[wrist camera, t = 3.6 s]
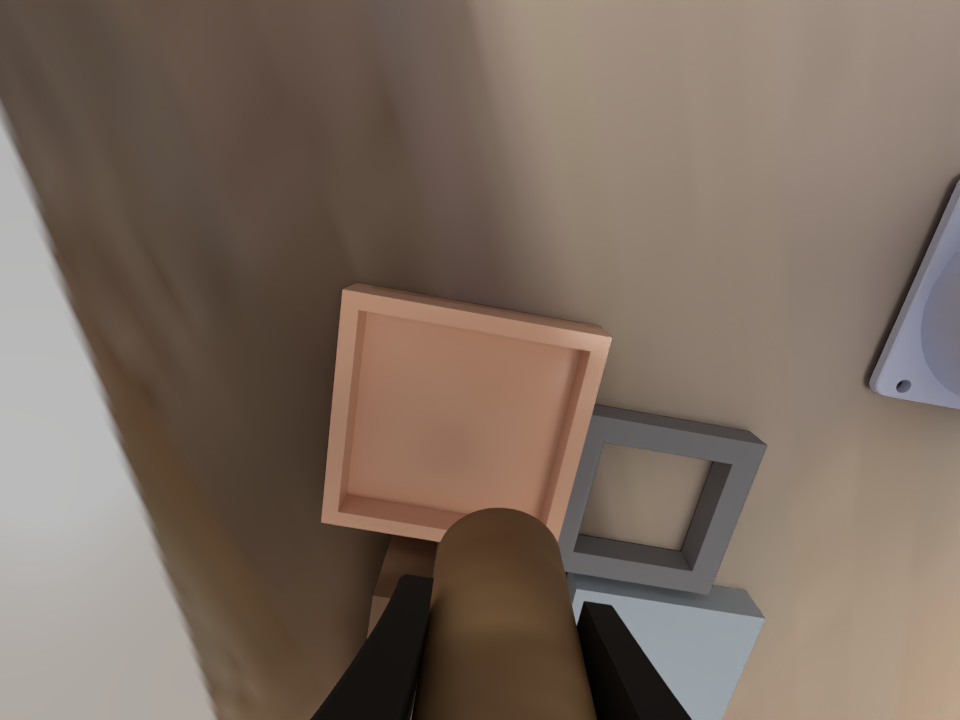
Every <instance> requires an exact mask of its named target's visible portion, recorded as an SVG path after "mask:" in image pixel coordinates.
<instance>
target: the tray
mask: <svg viewBox="0 0 960 720" xmlns="http://www.w3.org/2000/svg"><path fill="white" fill-rule="evenodd" d="M611 341H612V337H611V336H610V335H609V334H608V333H607V332H606V331H605V330H604V329H603V328H602V327H601V326H596V325H591V324H585V323H579V322H574V321H568V320H563V319H557V318H552V317H546V316H541V315H535V314H529V313H524V312H518V311H513V310H507V309H502V308H496V307H491V306H485V305H479V304H474V303H468V302H463V301H457V300H452V299H446V298H440V297H435V296H429V295H424V294H418V293H413V292H407V291H402V290H396V289H390V288H385V287H379V286H374V285H368V284H363V283H355V284H353V285H351V286H349V287H346V288H344V289H342V300H341V311H340V322H339V333H338V344H337V355H336V366H335V377H334V388H333V398H332V409H331V420H330V431H329V442H328V453H327V464H326V475H325V486H324V497H323V508H322V518H321V523H327V524H333V525H339V526H345V527H352V528H358V529H364V530H370V531H376V532H382V533H388V534H394V535H400V536H406V537H412V538H418V539H425V540H431V541H437V542H440V541H441V539H442V537H443V536H444V534H445V533H446V531H447V530H448V529H449V528H450V527H451V526H452V525H453V524H454V523H455V522H456V521H458V520H459V519H461V518H462V517H464V516H466V515H468V514H470V513H472V512H475V511H478V510H482V509H487V508H510V509H515V510H519V511H522V512H525V513H527V514H530V515H532V516H533V517H535V518H537V519H538V520H540V521H541V522H542V523H544V524H545V525H546V526H547V527H548V528H549V530H550V531H551V532H552V533H553V535H554V537H555V538H556V540H557V543H558V540H559V536H560V532H561V528H562V525H563V521H564V517H565V513H566V510H567V506H568V502H569V498H570V495H571V491H572V487H573V483H574V480H575V476H576V472H577V468H578V465H579V461H580V457H581V453H582V450H583V446H584V442H585V439H586V435H587V431H588V427H589V424H590V420H591V416H592V412H593V409H594V405H595V401H596V397H597V394H598V390H599V386H600V382H601V379H602V375H603V371H604V367H605V364H606V360H607V356H608V352H609V349H610V345H611Z"/></svg>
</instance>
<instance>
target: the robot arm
mask: <svg viewBox="0 0 960 720" xmlns="http://www.w3.org/2000/svg"><path fill="white" fill-rule="evenodd" d="M900 381H902V384H901V385H900V387H898V388H896V386H897V384H898V383H899V382H900ZM869 385H870V388H871V389H872V391H874V392H876V393H878V394H880V395H883V396H887V397H893V398H898V399H904V400H909V401H915V402H921V403H926V404H932V405H937V406H943V407H949V408H954V409H960V180H959V181H958V183H957V185H956V187H955V189H954V191H953V194H952V196H951V198H950V200H949V203H948V205H947V207H946V209H945V212H944V214H943V216H942V218H941V221H940V223H939V225H938V227H937V230H936V232H935V234H934V236H933V239H932V241H931V243H930V245H929V248H928V250H927V252H926V254H925V257H924V259H923V261H922V264H921V266H920V268H919V270H918V273H917V275H916V277H915V279H914V282H913V284H912V286H911V288H910V291H909V293H908V295H907V297H906V300H905V302H904V304H903V306H902V309H901V311H900V313H899V315H898V318H897V320H896V322H895V324H894V327H893V329H892V331H891V333H890V336H889V338H888V340H887V342H886V345H885V347H884V349H883V351H882V354H881V356H880V358H879V360H878V363H877V365H876V367H875V369H874V372H873V374H872V376H871V378H870V382H869ZM433 582H434V578H429V577H422V576H415V575H409V574H405V575H403V576H402V577H400V578H399V580H398V583H397V586H396V588H395V590H394V592H393V594H392V597H391V599H390V601H389V603H388V604H387V606H386V608H385V610H384V612H383V614H382V615H381V617H380V619H379V621H378V622H377V624H376V626H375V627H374V629H373V631H372V632H371V634H370V635H369V637H368V639H367V640H366V642H365V643H364V645H363V646H362V648H361V649H360V651H359V653H358V654H357V656H356V657H355V659H354V660H353V662H352V663H351V665H350V666H349V668H348V669H347V670H346V672H345V673H344V675H343V676H342V677H341V679H340V680H339V682H338V683H337V684H336V686H335V687H334V688H333V690H332V691H331V693H330V694H329V695H328V697H327V698H326V700H325V701H324V702H323V704H322V705H321V706H320V708H319V709H318V710H317V712H316V713H315V714H314V715H313V717H312V718H311V719H310V720H410V717H411V713H412V709H413V703H414V697H415V691H416V685H417V680H418V674H419V668H420V662H421V656H422V650H423V644H424V638H425V633H426V627H427V621H428V615H429V609H430V603H431V596H432V589H433ZM577 630H578V634H579V639H580V643H581V648H582V652H583V657H584V662H585V666H586V671H587V675H588V680H589V684H590V689H591V693H592V698H593V702H594V707H595V711H596V716H597V720H692V719H691V717H690V716H689V715H688V713H687V712H686V711H685V709H684V708H683V706H682V705H681V704H680V702H679V701H678V700H677V698H676V697H675V695H674V694H673V693H672V691H671V690H670V689H669V687H668V686H667V684H666V683H665V682H664V680H663V679H662V677H661V676H660V675H659V673H658V672H657V670H656V669H655V667H654V666H653V664H652V663H651V662H650V660H649V659H648V657H647V656H646V654H645V653H644V651H643V650H642V648H641V647H640V646H639V644H638V643H637V641H636V640H635V638H634V637H633V635H632V634H631V632H630V631H629V629H628V628H627V626H626V625H625V623H624V622H623V621H622V619H621V618H620V616H619V615H618V613H617V612H616V610H615V609H614V607H613V606H612V605H608V604H601V603H595V602H588V601H584V602H583V606H582V609H581V613H580V616H579V620H578V623H577Z"/></svg>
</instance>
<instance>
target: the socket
mask: <svg viewBox="0 0 960 720" xmlns="http://www.w3.org/2000/svg"><path fill="white" fill-rule="evenodd" d="M604 442H605V443H611V444H617V445H623V446H629V447H634V448H640V449H646V450H652V451H658V452H663V453H669V454H675V455H681V456H687V457H692V458H698V459H704V460H710V461H713V464H712V467H711V470H710V472H709V475H708V478H707V481H706V484H705V486H704V489H703V492H702V495H701V497H700V500H699V503H698V506H697V509H696V511H695V514H694V517H693V520H692V522H691V525H690V528H689V531H688V534H687V536H686V539H685V542H684V545H683V547H682V550H681V552H680V551H674V550H668V549H662V548H656V547H650V546H644V545H638V544H632V543H626V542H620V541H614V540H608V539H602V538H596V537H590V536H584V535H578V533H579V529H580V526H581V522H582V519H583V515H584V511H585V508H586V504H587V501H588V497H589V494H590V490H591V487H592V483H593V479H594V476H595V472H596V469H597V465H598V462H599V458H600V454H601V451H602V447H603V444H604ZM766 447H767V445H766V444H765V443H764V442H762V441H761V440H760V439H759V438H757V437H756V436H755V435H754V434H753V433H751V432H750V431H744V430H738V429H733V428H727V427H721V426H716V425H710V424H704V423H698V422H693V421H687V420H681V419H676V418H670V417H664V416H658V415H653V414H647V413H641V412H635V411H630V410H624V409H618V408H613V407H607V406H601V405H594V409H593V412H592V416H591V420H590V424H589V427H588V431H587V435H586V439H585V442H584V446H583V450H582V453H581V457H580V461H579V465H578V468H577V472H576V476H575V480H574V483H573V487H572V491H571V495H570V498H569V502H568V506H567V510H566V513H565V517H564V521H563V525H562V528H561V532H560V536H559V540H558V545H559V548H560V553H561V557H562V562H563V566H564V571H566V572H572V573H578V574H584V575H590V576H596V577H602V578H608V579H614V580H620V581H627V582H633V583H639V584H645V585H651V586H657V587H663V588H669V589H675V590H682V591H688V592H694V593H700V594H706V595H709V592H710V590H711V587H712V585H713V582H714V580H715V577H716V574H717V572H718V569H719V567H720V564H721V562H722V559H723V557H724V554H725V552H726V549H727V547H728V544H729V541H730V539H731V536H732V534H733V531H734V529H735V526H736V524H737V521H738V519H739V516H740V513H741V511H742V508H743V506H744V503H745V501H746V498H747V496H748V493H749V491H750V488H751V486H752V483H753V480H754V478H755V475H756V473H757V470H758V468H759V465H760V463H761V460H762V458H763V455H764V452H765V450H766Z"/></svg>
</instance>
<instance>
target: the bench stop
mask: <svg viewBox="0 0 960 720" xmlns="http://www.w3.org/2000/svg"><path fill="white" fill-rule="evenodd" d="M436 548H437V541H431V540H425V539H418V538H412V537H406V536H400V535H394V534H392V536H391V540H390V543H389V546H388V549H387V552H386V555H385V559H384V562H383V565H382V568H381V571H380V574H379V578H378V581H377V584H376V587H375V590H374V593H373V598H372V605H371V612H370V620H369V627H368V634H367V639H368V637H369V635H370V634H371V632H372V631H373V629H374V627H375V626H376V624H377V622H378V621H379V619H380V617H381V615H382V614H383V612H384V610H385V608H386V606H387V604H388V603H389V601H390V599H391V597H392V594H393V592H394V590H395V588H396V586H397V583H398V580H399V578H400V577H402V576H403V575H405V574H409V575H415V576H422V577H429V578H432V572H433V566H434V560H435V554H436Z"/></svg>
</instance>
